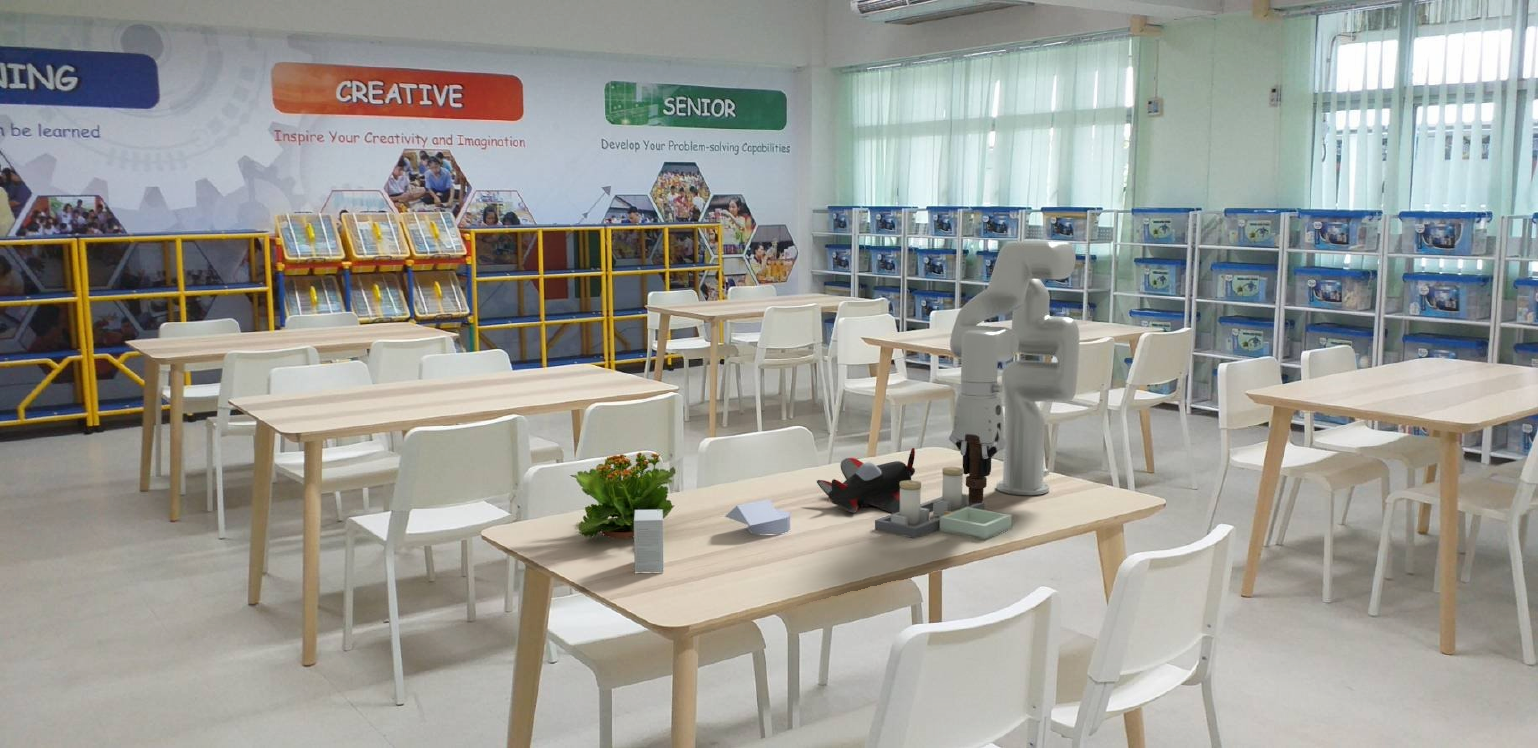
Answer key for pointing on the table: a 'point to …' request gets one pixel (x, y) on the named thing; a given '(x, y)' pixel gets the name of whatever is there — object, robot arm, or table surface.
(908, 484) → the fuse outer
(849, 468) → the toy airplane
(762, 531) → the wedge on round base
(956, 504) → the ball
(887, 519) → the block
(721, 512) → the table surface
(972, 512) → the tray
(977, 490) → the bolt
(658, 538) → the small box
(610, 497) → the potted flower
